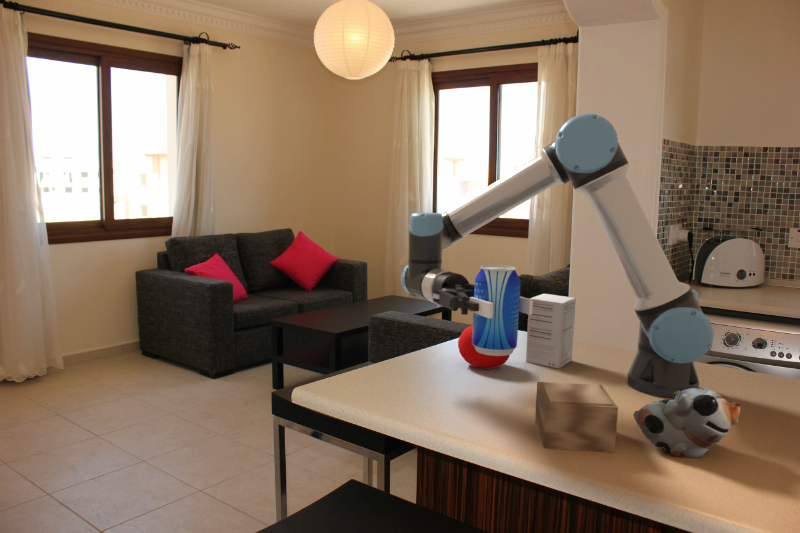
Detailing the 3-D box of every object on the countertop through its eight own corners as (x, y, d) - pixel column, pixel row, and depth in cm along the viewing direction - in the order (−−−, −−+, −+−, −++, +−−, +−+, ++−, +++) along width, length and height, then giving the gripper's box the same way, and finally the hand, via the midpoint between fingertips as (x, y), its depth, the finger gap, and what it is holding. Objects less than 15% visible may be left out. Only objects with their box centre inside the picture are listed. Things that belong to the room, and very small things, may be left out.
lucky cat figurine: (684, 426, 119) (729, 373, 112) (718, 477, 108) (769, 421, 102) (620, 410, 114) (662, 353, 108) (649, 461, 104) (698, 401, 98)
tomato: (499, 376, 147) (501, 331, 146) (450, 367, 154) (451, 323, 152) (517, 364, 157) (520, 322, 156) (470, 356, 164) (472, 315, 162)
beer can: (516, 358, 112) (520, 271, 110) (469, 354, 114) (473, 268, 112) (517, 347, 121) (521, 265, 119) (473, 343, 122) (477, 263, 120)
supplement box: (539, 354, 167) (543, 292, 165) (572, 360, 162) (576, 297, 160) (524, 362, 160) (528, 297, 158) (559, 369, 154) (563, 302, 152)
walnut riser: (598, 425, 118) (601, 383, 117) (614, 452, 106) (618, 406, 105) (534, 421, 119) (537, 380, 118) (543, 448, 107) (546, 402, 106)
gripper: (486, 302, 137) (555, 324, 117) (402, 309, 128) (461, 334, 108) (488, 269, 136) (557, 285, 116) (403, 273, 127) (463, 291, 107)
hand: (511, 309), depth 112 cm, fingers closed on beer can, 8 cm apart
